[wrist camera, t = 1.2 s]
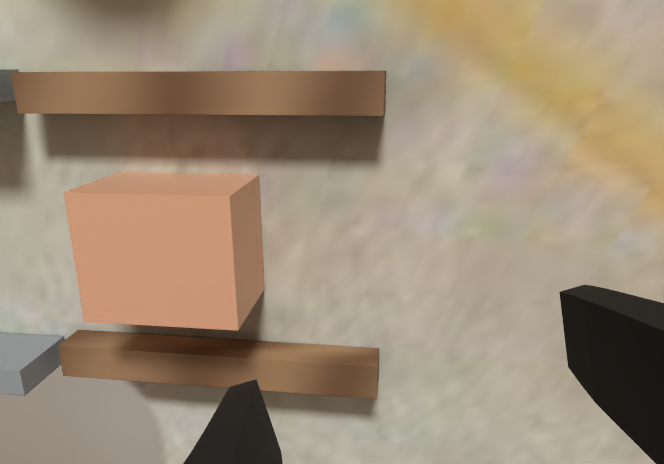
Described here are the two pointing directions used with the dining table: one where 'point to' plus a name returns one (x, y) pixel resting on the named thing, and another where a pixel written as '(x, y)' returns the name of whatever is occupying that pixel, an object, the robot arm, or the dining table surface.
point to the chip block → (168, 248)
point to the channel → (212, 99)
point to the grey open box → (24, 349)
